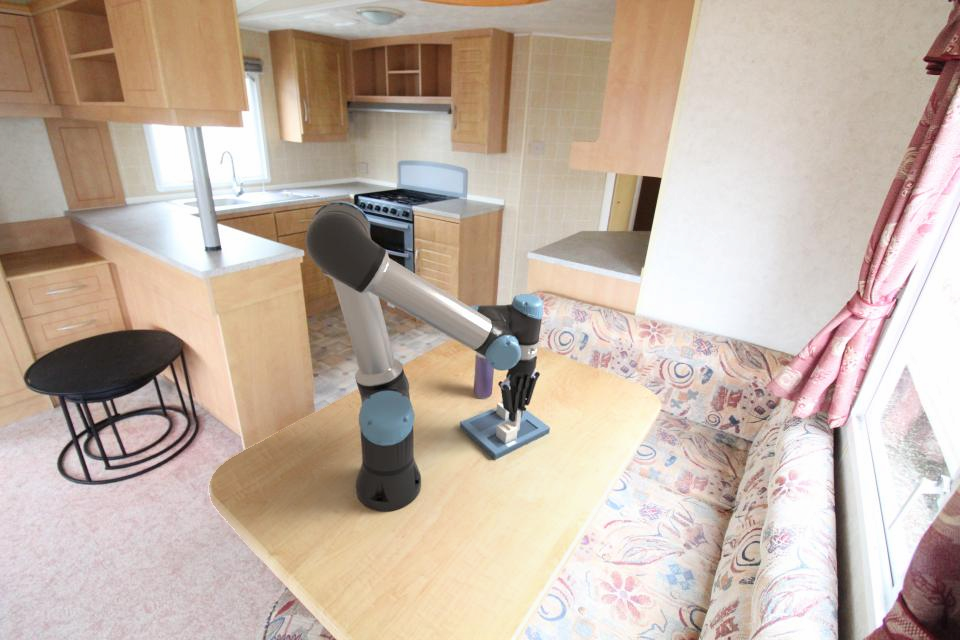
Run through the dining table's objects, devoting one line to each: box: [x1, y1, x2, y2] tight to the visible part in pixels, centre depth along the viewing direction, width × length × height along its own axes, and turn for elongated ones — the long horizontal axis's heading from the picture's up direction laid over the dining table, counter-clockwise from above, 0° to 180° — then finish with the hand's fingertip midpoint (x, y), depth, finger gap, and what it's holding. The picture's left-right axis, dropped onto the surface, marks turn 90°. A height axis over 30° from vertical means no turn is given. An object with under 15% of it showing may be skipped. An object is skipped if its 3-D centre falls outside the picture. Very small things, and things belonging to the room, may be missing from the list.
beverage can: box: [473, 352, 495, 400], centre depth 145 cm, size 6×6×15 cm
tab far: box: [496, 400, 509, 420], centre depth 136 cm, size 4×4×4 cm
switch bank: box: [459, 406, 551, 461], centre depth 132 cm, size 20×16×2 cm
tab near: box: [496, 421, 518, 444], centre depth 126 cm, size 4×4×4 cm
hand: (514, 428), depth 128 cm, fingers closed
